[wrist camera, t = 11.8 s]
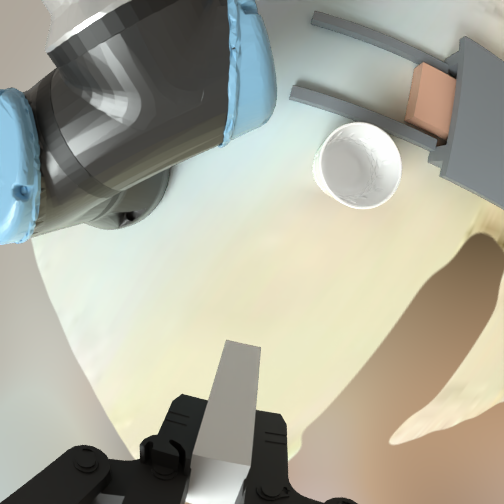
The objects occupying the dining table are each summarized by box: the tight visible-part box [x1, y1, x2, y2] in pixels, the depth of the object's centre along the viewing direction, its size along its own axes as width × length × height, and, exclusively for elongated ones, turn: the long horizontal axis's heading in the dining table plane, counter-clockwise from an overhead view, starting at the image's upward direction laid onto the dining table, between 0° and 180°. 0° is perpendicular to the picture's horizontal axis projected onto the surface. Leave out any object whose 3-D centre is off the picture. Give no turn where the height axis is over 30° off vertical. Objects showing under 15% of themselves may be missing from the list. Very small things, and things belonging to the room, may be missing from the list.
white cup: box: [312, 122, 402, 209], centre depth 31 cm, size 8×8×10 cm
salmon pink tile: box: [404, 62, 456, 141], centre depth 32 cm, size 14×8×3 cm, turn 75°
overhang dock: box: [289, 11, 504, 210], centre depth 30 cm, size 31×20×6 cm, turn 75°
